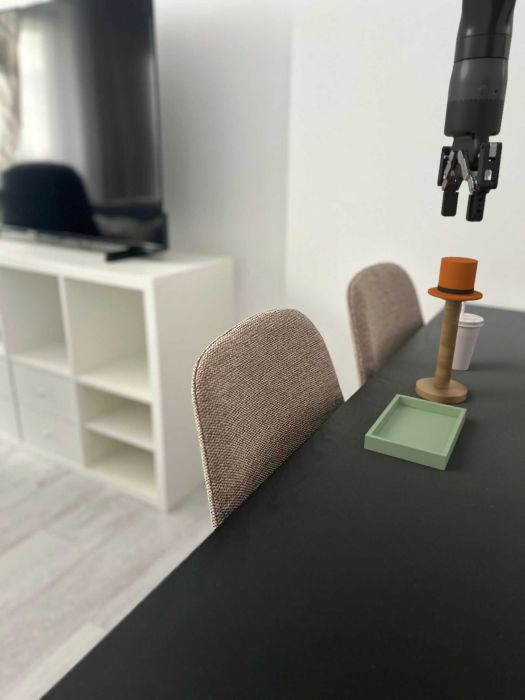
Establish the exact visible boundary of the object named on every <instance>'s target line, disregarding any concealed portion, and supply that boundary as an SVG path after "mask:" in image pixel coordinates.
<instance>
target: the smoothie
mask: <svg viewBox="0 0 525 700" xmlns="http://www.w3.org/2000/svg"><path fill="white" fill-rule="evenodd" d="M466 304H467V301H466V302H462V305H461V311H460V318H459V325H458V331H457V338H456V345H455V352H454V358H453V365H452V370H454V371H461V372H462V371H467V370H469V367H470V364H471V360H472V358H473V354H474V350H475V347H476V344H477V341H478V338H479V335H480V331H481V327H482V326H484V325H485V324H484V321H485V319H484V317H482V316H480V315H478V314H474V313H469V312H465V311H466V306H467V305H466Z"/></svg>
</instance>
